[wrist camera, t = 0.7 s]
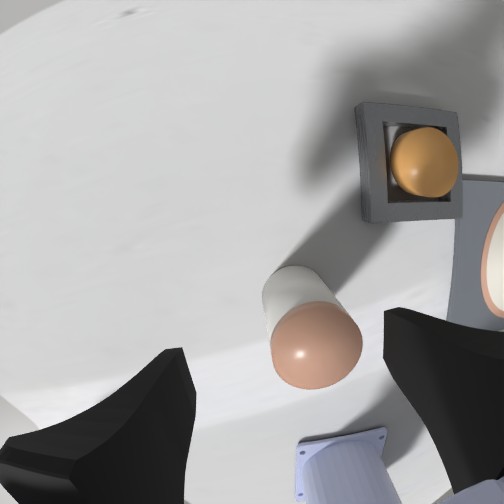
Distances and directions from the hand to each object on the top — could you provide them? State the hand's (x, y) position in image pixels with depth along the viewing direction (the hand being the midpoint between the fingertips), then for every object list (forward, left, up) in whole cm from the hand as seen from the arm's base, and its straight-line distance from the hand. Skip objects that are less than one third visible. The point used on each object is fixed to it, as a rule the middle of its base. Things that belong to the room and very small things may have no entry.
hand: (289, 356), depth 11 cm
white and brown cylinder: (-1, -2, -9) cm, 9 cm away
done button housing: (+7, -10, -9) cm, 15 cm away
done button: (+7, -10, -8) cm, 14 cm away
